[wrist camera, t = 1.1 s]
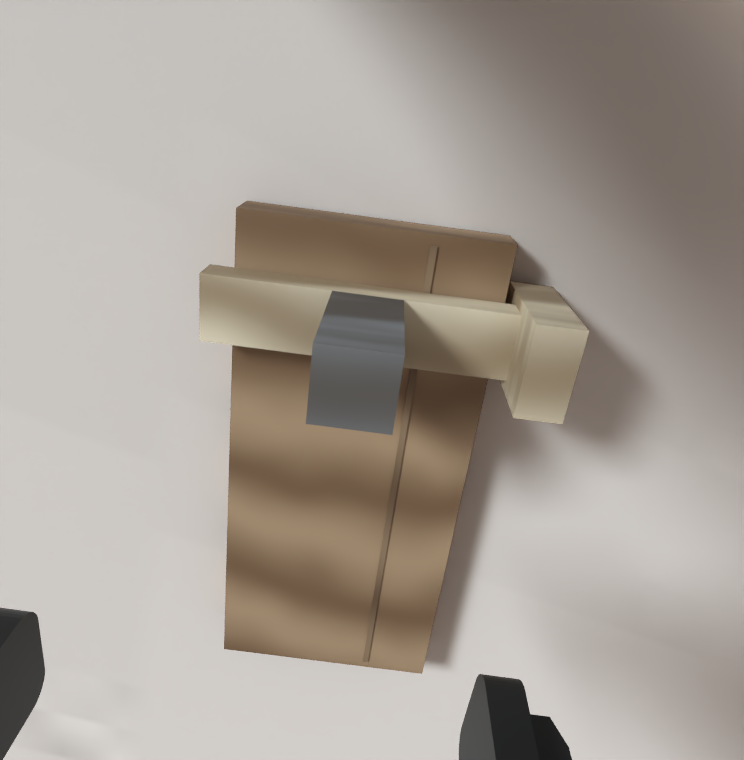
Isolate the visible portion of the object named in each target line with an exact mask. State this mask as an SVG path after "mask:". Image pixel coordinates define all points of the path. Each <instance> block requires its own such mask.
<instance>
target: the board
mask: <svg viewBox="0 0 744 760" xmlns="http://www.w3.org/2000/svg"><path fill="white" fill-rule="evenodd" d="M517 246H518V245H517V244H516V242H515V241H514V240H513V239H512V237H511V236H508V235H501V234H493V233H486V232H478V231H470V230H463V229H455V228H448V227H440V226H433V225H425V224H418V223H410V222H403V221H395V220H388V219H380V218H373V217H365V216H358V215H350V214H343V213H335V212H328V211H320V210H313V209H305V208H297V207H290V206H282V205H275V204H267V203H260V202H252V201H246V202H245V203H243V204H241V205H240V206H238V207H237V208H236V237H235V268H241V269H248V270H256V271H263V272H271V273H279V274H286V275H294V276H301V277H309V278H317V279H324V280H332V281H339V282H347V283H355V284H362V285H370V286H377V287H385V288H392V289H400V290H408V291H415V292H423V293H430V294H438V295H446V296H453V297H461V298H468V299H476V300H484V301H491V302H499V303H505V300H506V296H507V291H508V287H509V282H510V278H511V273H512V269H513V264H514V260H515V255H516V251H517ZM311 358H312V355H304V354H296V353H289V352H281V351H273V350H266V349H258V348H250V347H243V346H235V345H233V346H232V383H231V419H230V455H229V492H228V528H227V565H226V601H225V637H224V649H230V650H237V651H245V652H253V653H261V654H269V655H277V656H285V657H293V658H301V659H309V660H317V661H325V662H333V663H341V664H349V665H357V666H365V667H373V668H381V669H389V670H397V671H405V672H413V673H421V674H422V671H423V667H424V663H425V658H426V654H427V649H428V645H429V640H430V636H431V631H432V627H433V622H434V618H435V613H436V609H437V604H438V600H439V595H440V591H441V586H442V582H443V577H444V573H445V569H446V564H447V560H448V555H449V551H450V546H451V542H452V537H453V533H454V528H455V524H456V519H457V515H458V510H459V506H460V501H461V497H462V492H463V488H464V484H465V479H466V475H467V470H468V466H469V461H470V457H471V452H472V448H473V443H474V439H475V434H476V430H477V425H478V421H479V416H480V412H481V407H482V403H483V399H484V394H485V390H486V385H487V381H488V378H480V377H473V376H465V375H457V374H450V373H442V372H434V371H427V370H419V369H411V368H404V367H403V371H402V377H401V383H400V390H399V396H398V402H397V409H396V415H395V422H394V428H393V434H392V435H388V434H380V433H372V432H365V431H357V430H349V429H341V428H334V427H326V426H318V425H310V424H306V415H307V404H308V392H309V381H310V369H311Z"/></svg>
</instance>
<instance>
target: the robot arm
mask: <svg viewBox="0 0 744 760" xmlns="http://www.w3.org/2000/svg"><path fill="white" fill-rule="evenodd" d="M44 676H45V666H44V659H43V652H42V644H41V637H40V630H39V622H38V617H37V615H36V614H35V613H34V612H28V611H20V610H13V609H5V608H0V760H3V758H4V757H5V755H6V753H7V752H8V750H9V748H10V747H11V745H12V743H13V742H14V740H15V738H16V737H17V735H18V733H19V732H20V730H21V728H22V727H23V725H24V723H25V722H26V720H27V718H28V717H29V715H30V713H31V712H32V710H33V708H34V706H35V704H36V702H37V700H38V698H39V695H40V692H41V689H42V686H43V682H44ZM459 760H572V758H571V755H570V751H569V747H568V745H567V744H566V742H565V741H564V739H563V737H562V736H561V734H560V733H559V731H558V730H557V728H556V726H555V725H554V723H553V722H552V720H551V718H550V717H546V716H538V715H531V714H530V712H529V707H528V702H527V698H526V693H525V689H524V686H523V683H522V681H521V680H519V679H512V678H505V677H498V676H490V675H483V674H479V675H478V677H477V679H476V682H475V685H474V689H473V692H472V695H471V698H470V702H469V705H468V708H467V711H466V714H465V718H464V721H463V724H462V728H461V734H460V742H459Z"/></svg>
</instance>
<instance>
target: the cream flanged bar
mask: <svg viewBox="0 0 744 760" xmlns="http://www.w3.org/2000/svg"><path fill="white" fill-rule="evenodd" d="M589 332H590V331H589V330H588V329H587V328H586V326H585V325H584V324H583V323H582V321H581V320H580V319H579V318H578V317H577V315H576V314H575V313H574V312H573V311H572V309H571V308H570V307H569V306H568V305H567V303H566V302H565V301H564V300H563V298H562V297H561V296H560V295H559V294H558V292H557V291H556V290H555V289H554V288H553V287H549V286H542V285H534V284H526V283H519V282H511V281H510V285H509V290H508V294H507V298H506V303H499V302H491V301H484V300H476V299H468V298H461V297H453V296H446V295H438V294H430V293H423V292H415V291H408V290H400V289H392V288H385V287H377V286H370V285H362V284H355V283H347V282H339V281H332V280H324V279H317V278H309V277H301V276H294V275H286V274H279V273H271V272H263V271H256V270H248V269H241V268H233V267H225V266H218V265H209V266H208V267H206V268H205V269H204V270H203V271H202V272H201V273H200V312H199V341H204V342H212V343H220V344H227V345H235V346H243V347H250V348H258V349H266V350H273V351H281V352H289V353H296V354H304V355H312V358H311V369H310V381H309V392H308V404H307V415H306V424H310V425H318V426H326V427H334V428H341V429H349V430H357V431H365V432H372V433H380V434H388V435H392V434H393V428H394V422H395V415H396V409H397V402H398V396H399V390H400V383H401V377H402V371H403V367H404V368H411V369H419V370H427V371H434V372H442V373H450V374H457V375H465V376H473V377H480V378H488V379H496V380H500V382H501V385H502V388H503V391H504V394H505V397H506V399H507V402H508V405H509V408H510V411H511V413H512V416H513V418H517V419H524V420H532V421H540V422H547V423H555V424H563V421H564V418H565V414H566V411H567V407H568V404H569V400H570V397H571V393H572V390H573V387H574V383H575V380H576V376H577V373H578V369H579V366H580V362H581V359H582V356H583V352H584V349H585V345H586V342H587V338H588V335H589Z"/></svg>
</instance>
